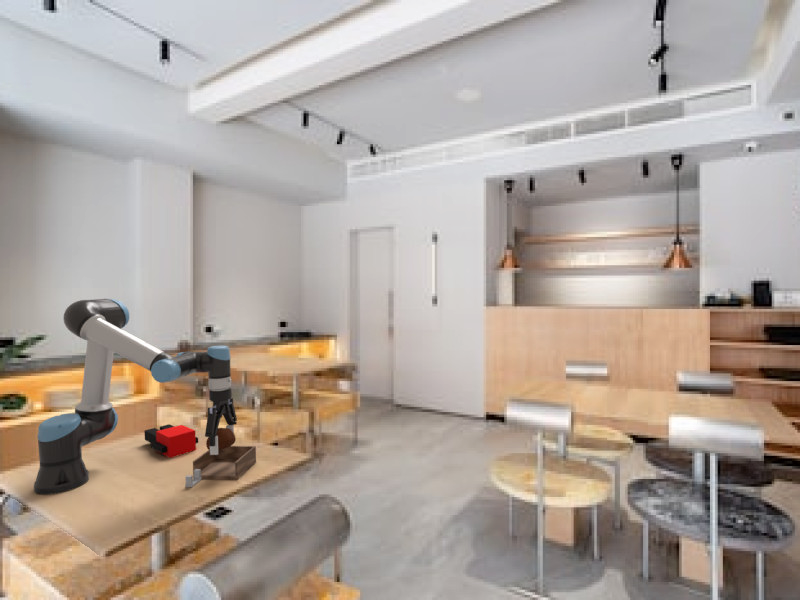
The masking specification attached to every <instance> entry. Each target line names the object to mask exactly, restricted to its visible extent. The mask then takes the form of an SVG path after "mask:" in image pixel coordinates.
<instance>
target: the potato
mask: <svg viewBox="0 0 800 600" xmlns="http://www.w3.org/2000/svg"><path fill="white" fill-rule="evenodd" d="M216 436H218V450H222V449H225V448H228V447H230V446H234V444H235V443H236V440H237V439H236V435H235V432H234V433H233V431H232V430H230V429H229V428H226V427H218V430H217V434H216ZM205 443H206V444H205V445H206V447H207V451H208V450H210V442H209V437H207V439H206V442H205Z"/></svg>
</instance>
